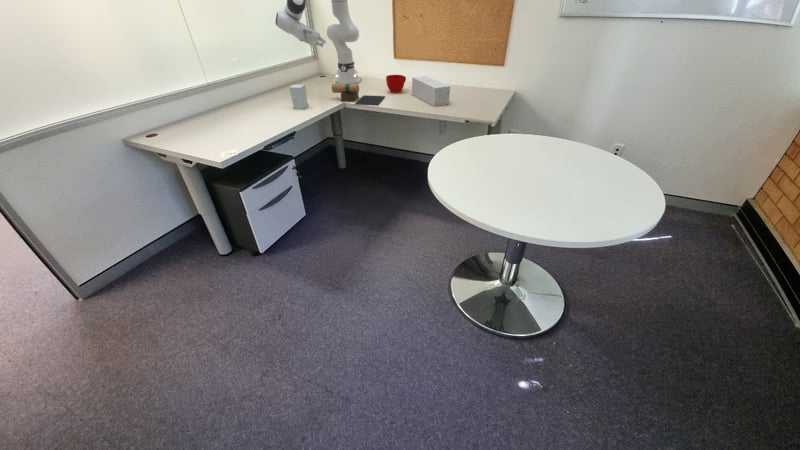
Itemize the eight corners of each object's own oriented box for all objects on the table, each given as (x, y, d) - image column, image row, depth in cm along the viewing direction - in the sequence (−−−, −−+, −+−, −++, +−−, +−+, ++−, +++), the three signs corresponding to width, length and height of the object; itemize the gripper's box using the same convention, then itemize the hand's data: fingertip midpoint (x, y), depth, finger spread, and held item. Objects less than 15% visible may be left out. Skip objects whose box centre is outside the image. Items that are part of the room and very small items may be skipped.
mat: (363, 95, 225) (363, 95, 224) (385, 96, 222) (385, 96, 222) (355, 104, 209) (355, 103, 208) (377, 105, 206) (377, 104, 206)
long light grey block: (412, 94, 228) (412, 77, 221) (425, 92, 231) (426, 75, 225) (434, 106, 204) (435, 88, 198) (449, 104, 207) (450, 86, 201)
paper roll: (332, 93, 215) (331, 84, 212) (335, 91, 219) (334, 82, 216) (357, 94, 212) (356, 84, 209) (359, 92, 217) (358, 83, 213)
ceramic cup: (412, 90, 235) (412, 75, 230) (395, 95, 226) (395, 79, 220) (398, 87, 243) (398, 72, 237) (382, 91, 233) (382, 76, 227)
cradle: (346, 97, 222) (345, 89, 219) (358, 97, 221) (358, 90, 218) (341, 101, 214) (340, 93, 212) (354, 101, 213) (353, 94, 210)
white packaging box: (308, 105, 207) (305, 84, 199) (304, 109, 201) (301, 87, 193) (297, 105, 207) (293, 84, 200) (293, 108, 201) (288, 87, 194)
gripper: (306, 22, 190) (328, 35, 196) (302, 31, 208) (323, 42, 214) (302, 33, 191) (325, 45, 197) (299, 41, 209) (320, 52, 215)
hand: (324, 44), depth 206 cm, fingers open, 8 cm apart
